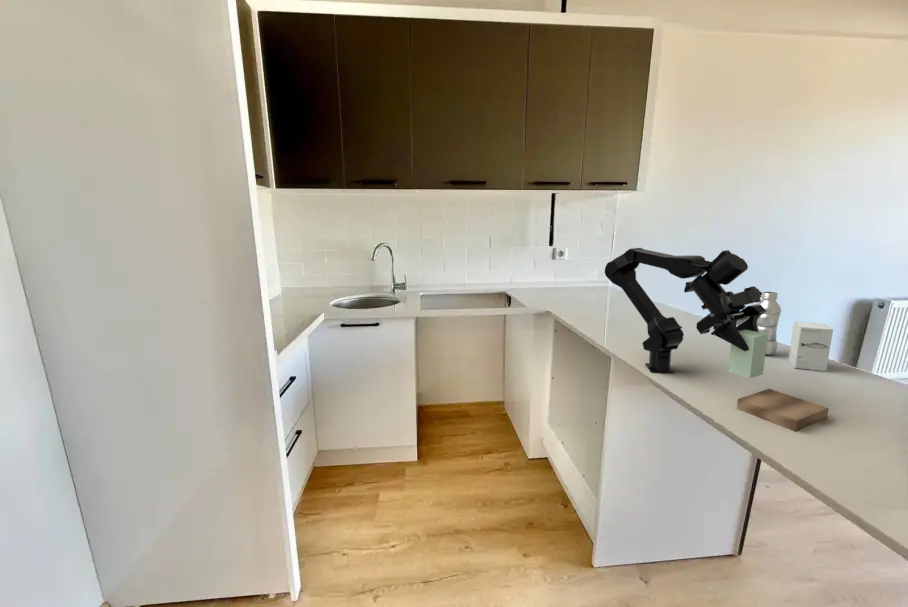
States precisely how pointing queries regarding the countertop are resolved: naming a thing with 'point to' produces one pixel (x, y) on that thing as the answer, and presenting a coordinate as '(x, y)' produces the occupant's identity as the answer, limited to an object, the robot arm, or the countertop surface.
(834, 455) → the countertop surface
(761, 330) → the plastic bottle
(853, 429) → the countertop surface
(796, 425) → the walnut plinth
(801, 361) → the supplement box
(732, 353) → the sage block
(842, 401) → the countertop surface
